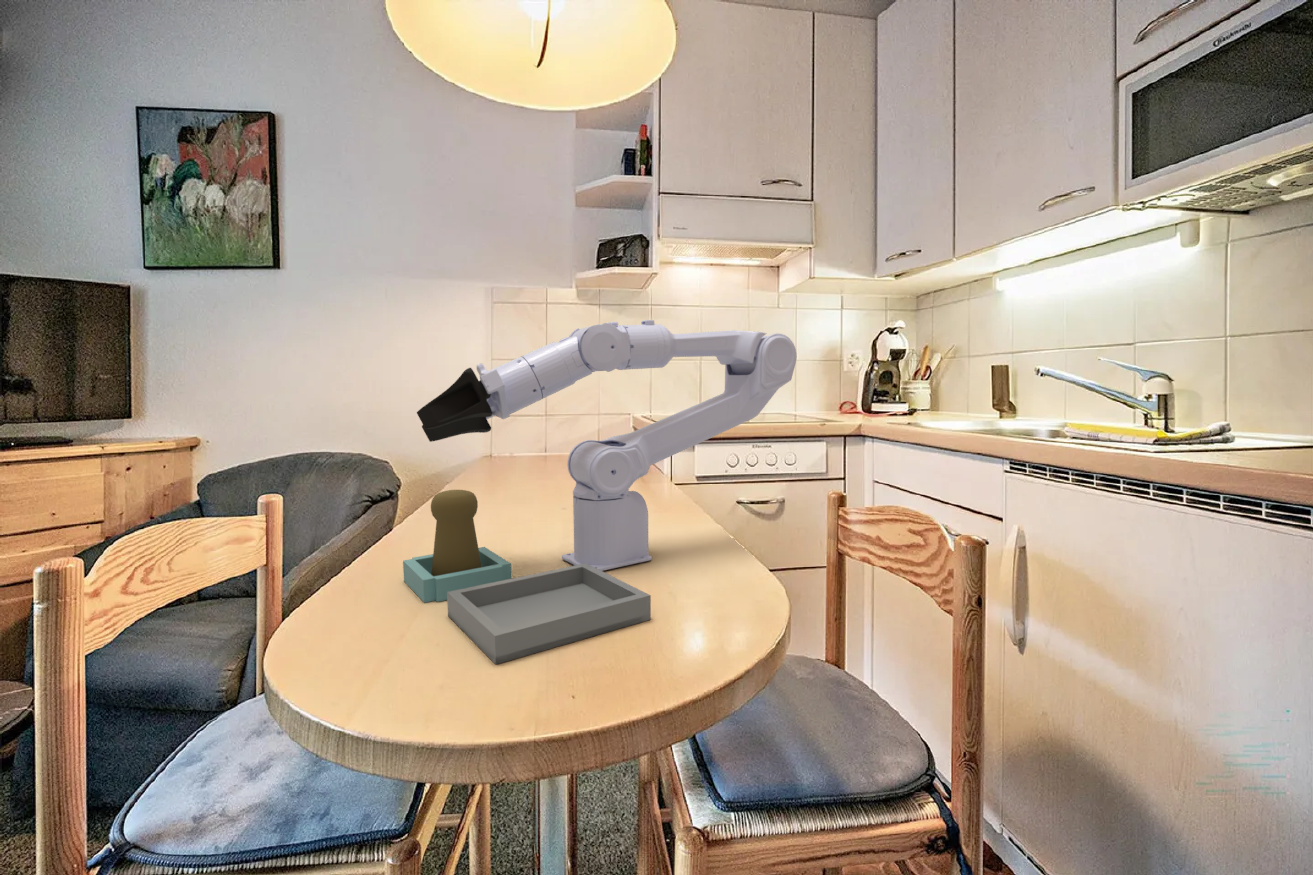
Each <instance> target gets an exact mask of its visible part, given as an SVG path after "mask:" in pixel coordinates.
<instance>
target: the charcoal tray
mask: <svg viewBox="0 0 1313 875" xmlns="http://www.w3.org/2000/svg"><path fill="white" fill-rule="evenodd" d="M511 578H512V577H511ZM651 596H652V595H651V594H648V593H647V592H645V591H643V590H641V589H638V588H637V587H635V586H633V585H631V584H629V583H627V582H624V581H623V580H621V579H618V578H617V577H616V576H612V575H610V574H608V573H607V572H604V571H601V570H599V569H597V568H595V567H593V566H591V565H588V564H586V563H584V564H580V565H571V566H566V567H561V568H557V569H552V570H547V571H542V572H537V573H532V574H528V575H523V576H518V577H513V578H512V579H507V580H503V581H498V582H493V583H488V584H483V585H478V586H474V587H469V588H464V589H459V590H454V591H450V592H447V600H446V601H447V616H448V617H449V619H450V620H451V621H452V622H453V623H454V624H455V625H456V626H457V627H458V628H459V629H460V630H461V631H462V632H463V633H464V634H465V635H466V636H467V637H468V638H469V639H470V640H471V641H472V642H473V643H474V645H476V646H477V647H478V648H479V649H480V651H482V653H484V654H485V655H486V656H487V657H488V659H490V660H491V662H492V663H494V665H499V664H503V663H506V662H509V661H510V662H511V661H513V660H516V659H521V658H523V657H528V656H529V655H533V654H538V653H541V652H544V651H548V650H550V649H554V648H558V647H561V646H565V645H568V644H572V643H575V642H579V641H582V640H585V639H589V638H592V637H595V636H599V635H603V634H606V633H609V632H613V631H616V630H620V629H624V628H627V627H630V626H634V625H637V624H641V623H644V622H646V621H647V622H648V621H651V619H652V617H651V616H652V614H651V612H652V611H651V606H652V605H651V602H652V601H651V600H652V599H651V598H652V597H651Z"/></svg>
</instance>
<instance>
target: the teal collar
mask: <svg viewBox="0 0 1313 875" xmlns="http://www.w3.org/2000/svg"><path fill="white" fill-rule="evenodd" d="M478 549H479V555H480V561H481V568H476V569H470V570H465V571H460V572H455V573H449V574H444V575H439V576H434V577H433V576H432V575H431V572H432V562H433V553H432V554H426V555H420V556H413V557H412V558H410V559H405V560H403V561H402V565H403V566H402V568H403V582H404V583H405V584H406V585H407V586H408V587H409V588H410V590H412V592H414V594H415V595H416V596H417V597H418V598H419V599H420V600H421V601H422V602H423V603H424V604H425V603H430V602H434V601H436V603H438V602H444V601H447V592H450V591H454V590H459V589H464V588H469V587H474V586H478V585H483V584H488V583H493V582H498V581H503V580H507V579H512V563H511V562H510V561H508V560H506V559H505V558H503V557H502V556H500V555H498V554H497V553H495V552H493V551H492V550H491V549H489V548H487V547H486V546H481V547H478Z"/></svg>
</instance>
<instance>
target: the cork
mask: <svg viewBox="0 0 1313 875" xmlns="http://www.w3.org/2000/svg"><path fill="white" fill-rule="evenodd" d="M477 511H478V499H477V496H476V494H474V492H472V491H470V490H466V489H449V490H444V491H440V492H437V493H436V494H435V495H434V496H433V497H432V499H431V503H430V512H431V515H432V517H433V518H434V519H435V521H436V524H435V534H434V543H433V553H432V554H433V562H432V572H431V575H432V576H433V577H434V576H439V575H444V574H449V573H455V572H460V571H465V570H470V569H476V568H481V561H480V555H479V549H478V548H479V543H478V539H477V533H476V525H475V521H474V517H475V516H476V514H477Z"/></svg>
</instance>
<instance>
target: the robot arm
mask: <svg viewBox="0 0 1313 875" xmlns="http://www.w3.org/2000/svg"><path fill="white" fill-rule="evenodd" d="M684 357H685V358H693V357H699V358H700V357H716V359H717V361H718V363H719V364H720V365H724V366H725V368H724V390H723V392H722V393H721V394H719V395H717V396H714V397H712V398H708V399H707V400H705V401H702V402H700V403H698V404H695V405H693V406H690V407H688V408H686V409H684V410H683V409H682V410H681V411H678V412H676V413H674V414H672V415H669V416H666V417H665V418H662V419H659V420H657V421H655V422H653V423H651V424H648V425H646V426H643V427H641V428H639V429H637V430H635V431H632V432H629V433H628V432H627V433H625V434H619V435H614V436H610V437H608V438H606V439H602V440H595V439H594V440H593V439H586V440H583V441H580V442H579V443H577V444H575V446H574V447H573V448H572V450H570V452H569V455H568V458H567V463H566V464H567V465H566V466H567V471H568V474H569V475H570V477H571V478H572V479H573V481H574V482H575V487H574V489H573V491H572V502H573V503H572V507H573V510H572V511H573V512H572V513H573V517H572V518H573V552H570V553H564V554H561V559H562V560H563V561H566V562H568V563H570V564H571V565H572V566H575V565H580V564H584V563H586V564H588V565H591V566H593V567H595V568H597V569H599V570H601V571H603V572H604V571H607V570H612V569H617V568H621V567H626V566H630V565H634V564H640V563H643V562H649V561H651V560H653V558H652V557H653V556H652V555H650V554H649V509H648V504H647V503H646V500H645V498H644V497H643V495H642V494H641V493H640V492H638V491H636V490H630V488H631V487H632V485H633V484H634V483H635V482H636V481H637V480H639V479H640V478H643V477H644V476H646V475H648V473H649V470H650V468H651V466H652V465H654V464H657V463H659V462H661V461H664V460H666V459H668V458H670V457H672V456H675V455H676V454H678V453H680V452H683V451H685V450H688V449H689V448H691V447H694V446H697V445H698V444H701V443H703V442H705V441H707V440H709V439H711V438H713V437H716V436H718V435H719V434H722V433H724V432H727V431H729V430H731V429H733V428H736V427H738V426H740V425H742V424H744V423H747V422H748V421H749V422H750V420H753V419H754V418H756V417H758V415H759V414H760V413H761V412H762V411H763V410H764V408H765V407H766V405H767V404H768V403H769V401H770V400H771V399H772V398H773V397H774V395H775V394H776V393H777V392H778V390H779V389H780V388H782V387H784V386H786V384H788V383H789V382H791V381H792V378H793V374H794V371H795V368H796V363H797V349H796V346H795V343H794V341H793V340H792V339H791V338H790V337H788V336H787V335H786V334H783V333H778V332H777V333H772V334H769V335H767V332H764V331H752V330H735V329H734V330H733V329H732V330H719V331H705V332H704V331H703V332H702V331H701V332H687V333H686V332H685V333H672V332H671V331H670V330H669V329H668V328H667V327H666V326H665V325H663V324H661V323H659V324H657V323H655V319H644V320H641V323H640V324H620V325H619V322H618V321H610V322H603V323H601V324H594V325H590V326H589V325H588V326H585V327H582V328H575V330H573V331H572V332H571V333H570V334H569V335H568V336H566V337H563V338H562V339H560V340H558V341H553V342H550V343H548V344H545V345H544V346H541V347H539V348H537V349H534V350H532V351H530V352H528V353H525V354H524V355H521V356H519V357H517V358H515V359H513V360H512V359H511V360H510V361H507V362H506V363H503V364H500V365H498V366H496V367H494V368H492V369H490V370H487V368H486V367H485V365H484V363H479V364H476V371H477V374H478V375H479V379H480V380H479V379H478V377H477V375H476V373H475V371H474V370H473V368H472V367H468V368H466V369H465V370H464V371H463V372H462V373H461V375H460V376H459V377H458V378H457V379H456V380H455V381H454V383H452V384H451V385H450V386H449V387H448V388H447V389H446V390H444V391H443V392H442V393H441V394H439V395H437V396H436V397H435V398H433V399H431V400H430V401H429V402H427V403H426V404H425V405H424V406H422V407H421V408H420V409H418V411H416V414H417V416H418V418H419V420H420V422H421V423H422V425H421V428H422V430H423V433H424V434H425V435H426V437H427V439H428V441H429V442H430V443H431V442H437V441H441V440H446V439H448V438H451V437H456V436H459V435H464V434H472V433H473V434H474V433H475V434H476V433H479V434H480V433H490V431H491V430H492V427H491V424H490V423H489V421H488V420H489V419H491V418H493V417H498V418H500V419H502V420H506V419H507V418H509V417H510V415H513V414H514V413H516V412H519V411H520V410H522V409H524V408H527V407H529V406H532V405H533V404H535V403H537V402H539V401H542V400H544V399H546V398H547V397H549V396H551V395H554V394H556V393H557V392H559V391H562V390H565V389H566V388H568V387H570V386H573V385H574V384H575V383H576V382H578V381H580V380H582V379H583V378H586V377H588V376H591V375H592V374H593V373H595V372H607V373H608V372H613V371H615V370H618V371H623V370H642V369H660V368H664V367H665V366H667V365H668V364H669V363H670V361H671V360H672V359H673V358H684Z"/></svg>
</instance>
